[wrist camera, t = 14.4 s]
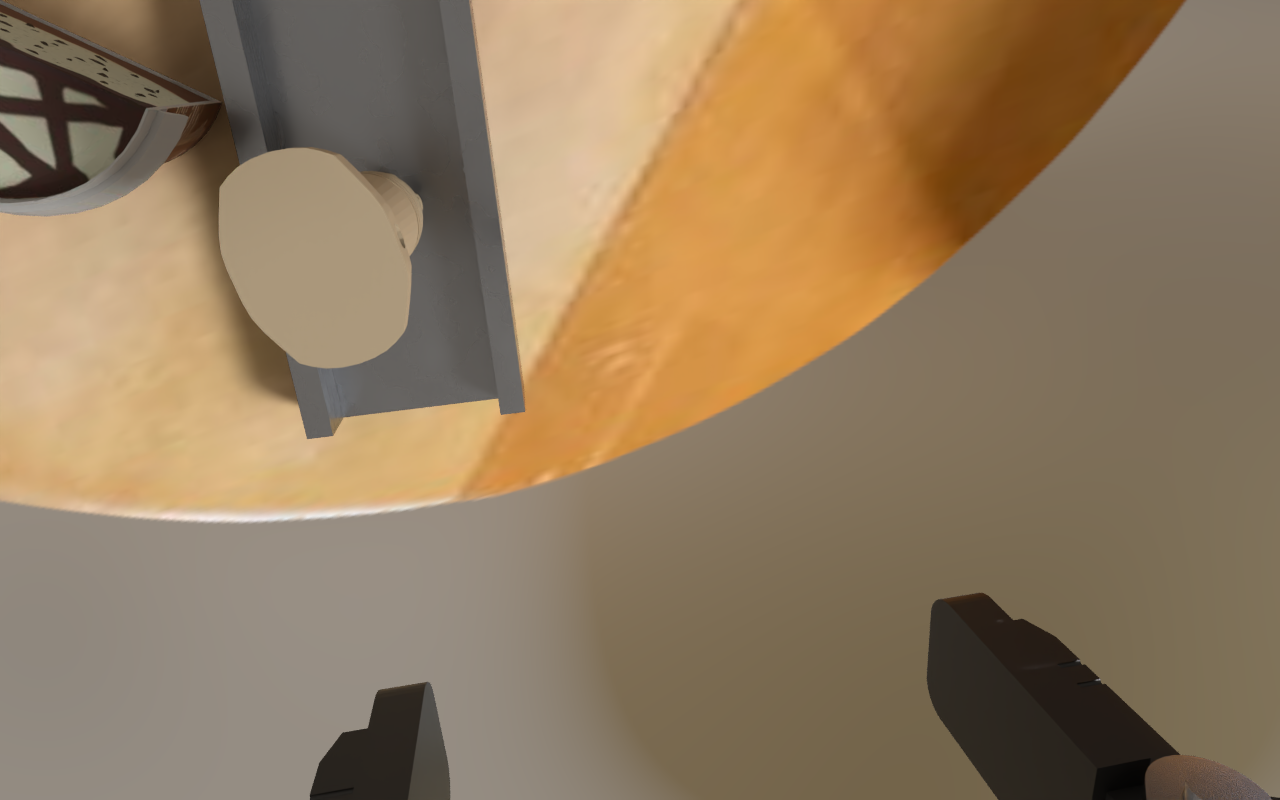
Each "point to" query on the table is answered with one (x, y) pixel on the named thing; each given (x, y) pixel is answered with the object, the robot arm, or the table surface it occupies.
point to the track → (396, 144)
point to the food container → (83, 119)
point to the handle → (320, 253)
